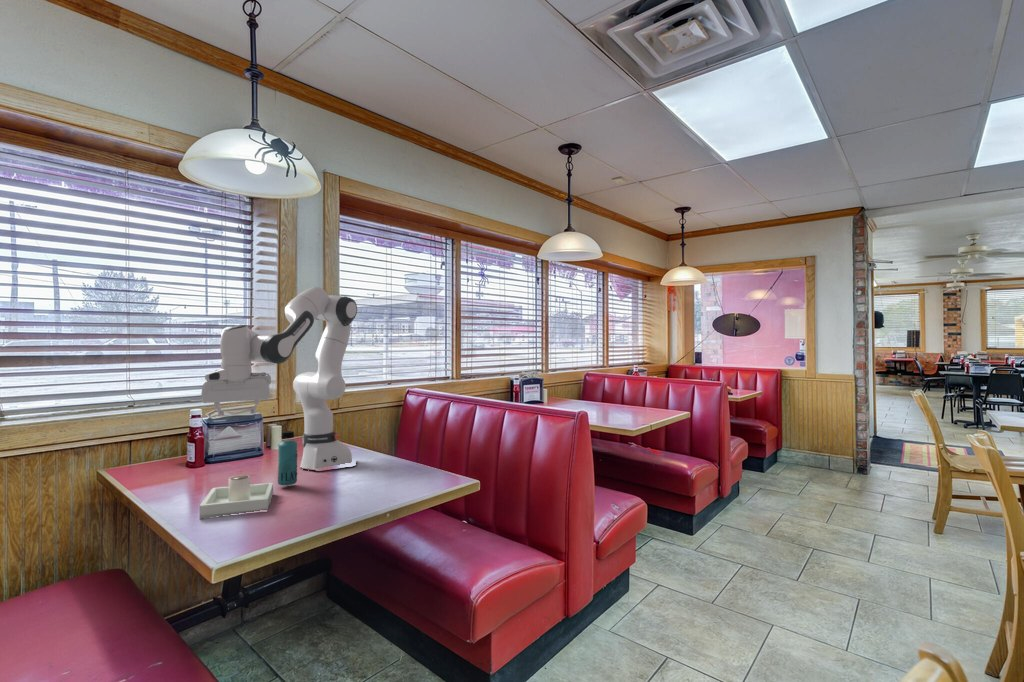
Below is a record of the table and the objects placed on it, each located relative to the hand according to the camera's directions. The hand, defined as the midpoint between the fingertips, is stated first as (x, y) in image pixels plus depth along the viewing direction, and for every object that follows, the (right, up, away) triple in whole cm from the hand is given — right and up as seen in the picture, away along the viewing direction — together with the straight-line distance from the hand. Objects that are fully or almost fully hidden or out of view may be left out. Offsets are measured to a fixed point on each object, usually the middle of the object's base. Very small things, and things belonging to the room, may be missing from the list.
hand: (237, 414), depth 165 cm
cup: (+6, -27, -9) cm, 29 cm away
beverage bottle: (+12, -28, +10) cm, 32 cm away
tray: (+6, -28, -9) cm, 30 cm away
